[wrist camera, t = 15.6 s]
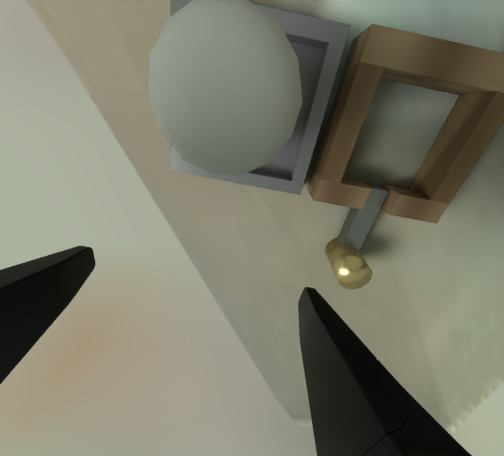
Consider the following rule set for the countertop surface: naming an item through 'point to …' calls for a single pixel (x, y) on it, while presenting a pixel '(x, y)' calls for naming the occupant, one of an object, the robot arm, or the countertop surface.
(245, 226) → the countertop surface
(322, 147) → the socket block
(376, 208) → the key
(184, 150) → the salt shaker
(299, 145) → the tray
